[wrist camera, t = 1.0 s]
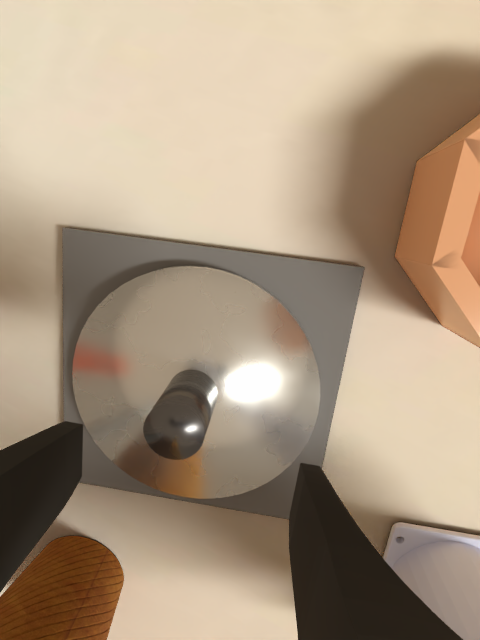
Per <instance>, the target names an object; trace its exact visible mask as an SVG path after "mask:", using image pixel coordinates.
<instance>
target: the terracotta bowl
mask: <svg viewBox="0 0 480 640" xmlns="http://www.w3.org/2000/svg"><path fill="white" fill-rule="evenodd" d="M395 258H396V259H397V261H398V262H399V264H400V265H401V267H402V268H403V270H404V271H405V272H406V274H407V275H408V277H409V278H410V280H411V281H412V283H413V284H414V286H415V287H416V288H417V290H418V291H419V293H420V294H421V296H422V297H423V299H424V300H425V302H426V303H427V305H428V306H429V307H430V309H431V310H432V312H433V313H434V315H435V316H436V318H437V319H438V321H439V322H440V323H441V325H442V326H443V327H445V328H447V329H449V330H450V331H452V332H454V333H455V334H457V335H459V336H460V337H462V338H464V339H466V340H467V341H469V342H471V343H472V344H474V345H476V346H478V347H479V348H480V114H479V115H478V116H476V117H475V118H474V119H472V120H471V121H470V122H468V123H467V124H466V125H464V126H463V127H462V128H460V129H459V130H458V131H457V132H455V133H454V134H453V135H451V136H450V137H449V138H447V139H446V140H445V141H443V142H442V143H441V144H439V145H438V146H437V147H435V148H434V149H433V150H431V151H430V152H429V153H427V154H426V155H425V156H423V157H422V158H421V159H419V160H418V161H417V163H416V167H415V172H414V176H413V180H412V184H411V189H410V193H409V197H408V202H407V206H406V210H405V214H404V219H403V223H402V227H401V232H400V236H399V240H398V244H397V249H396V253H395Z"/></svg>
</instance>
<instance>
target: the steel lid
mask: <svg viewBox="0 0 480 640" xmlns="http://www.w3.org/2000/svg"><path fill="white" fill-rule="evenodd" d="M72 378H73V390H74V395H75V400H76V404H77V407H78V410H79V413H80V416H81V418H82V420H83V422H84V425H85V427H86V429H87V431H88V432H89V434H90V435H91V437H92V438H93V440H94V441H95V443H96V444H97V446H98V447H99V448H100V449H101V450H102V452H103V453H104V454H105V455H106V456H107V457H108V458H109V459H110V460H111V461H112V462H113V463H114V464H115V465H116V466H118V467H119V468H120V469H122V470H123V471H124V472H125V473H127V474H128V475H130V476H131V477H133V478H135V479H136V480H138V481H139V482H141V483H143V484H146V485H148V486H150V487H152V488H154V489H157V490H160V491H163V492H166V493H168V494H173V495H177V496H182V497H189V498H197V499H214V498H223V497H229V496H234V495H238V494H242V493H245V492H248V491H251V490H253V489H256V488H258V487H260V486H262V485H264V484H266V483H268V482H269V481H271V480H272V479H274V478H275V477H277V476H278V475H280V474H281V473H282V472H283V471H284V470H285V469H286V468H288V467H289V466H290V465H291V464H292V463H293V461H294V460H295V459H296V458H297V457H298V456H299V454H300V453H301V452H302V450H303V448H304V447H305V445H306V444H307V442H308V440H309V438H310V436H311V434H312V431H313V429H314V427H315V423H316V420H317V416H318V412H319V404H320V378H319V372H318V366H317V363H316V360H315V356H314V353H313V350H312V347H311V344H310V342H309V340H308V338H307V336H306V334H305V332H304V330H303V328H302V327H301V325H300V324H299V322H298V321H297V319H296V318H295V316H294V315H293V314H292V313H291V312H290V311H289V309H288V308H287V307H286V306H285V305H284V304H283V303H282V302H281V301H280V300H279V299H278V298H276V297H275V296H274V295H273V294H272V293H271V292H269V291H268V290H266V289H265V288H263V287H262V286H260V285H259V284H257V283H255V282H253V281H251V280H249V279H247V278H245V277H243V276H241V275H238V274H236V273H233V272H230V271H227V270H223V269H218V268H213V267H209V266H195V265H186V266H173V267H168V268H163V269H158V270H155V271H152V272H150V273H147V274H144V275H141V276H138V277H136V278H134V279H132V280H130V281H128V282H127V283H125V284H123V285H121V286H120V287H118V288H117V289H116V290H114V291H113V292H112V293H110V294H109V295H108V296H107V297H106V298H105V299H104V300H103V301H102V302H101V303H100V304H99V305H98V306H97V307H96V309H95V310H94V311H93V313H92V314H91V315H90V317H89V318H88V320H87V322H86V323H85V325H84V327H83V329H82V331H81V333H80V336H79V339H78V342H77V344H76V349H75V353H74V358H73V370H72Z"/></svg>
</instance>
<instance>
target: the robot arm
mask: <svg viewBox="0 0 480 640" xmlns="http://www.w3.org/2000/svg"><path fill="white" fill-rule="evenodd" d="M82 453H83V424H79V423H73V422H68V421H65V422H62V423H59V424H57V425H55V426H52V427H50V428H48V429H46V430H44V431H41V432H39V433H37V434H35V435H33V436H31V437H29V438H26V439H24V440H22V441H20V442H18V443H16V444H13V445H11V446H9V447H7V448H5V449H3V450H0V592H1V591H2V589H3V588H4V587H5V585H6V584H7V582H8V581H9V579H10V578H11V577H12V575H13V574H14V573H15V571H16V570H17V569H18V567H19V566H20V565H21V563H22V562H23V561H24V559H25V558H26V557H27V555H28V554H29V553H30V552H31V550H32V549H33V548H34V546H35V545H36V544H37V542H38V541H39V540H40V538H41V537H42V536H43V535H44V533H45V532H46V531H47V529H48V528H49V527H50V525H51V524H52V523H53V521H54V520H55V519H56V517H57V516H58V515H59V513H60V512H61V511H62V509H63V508H64V506H65V505H66V503H67V502H68V500H69V498H70V497H71V495H72V493H73V492H74V490H75V488H76V486H77V485H78V483H79V481H80V479H81V478H82ZM397 537H400V538H397ZM289 552H290V562H291V572H292V582H293V591H294V601H295V611H296V620H297V630H298V640H480V536H478V535H472V534H466V533H461V532H455V531H449V530H443V529H437V528H432V527H426V526H420V525H414V524H409V523H403V522H398V523H395V524H394V525H393V526H392V528H391V532H390V535H389V539H388V542H387V546H386V549H385V553H384V556H383V558H382V557H381V555H380V554H379V553H378V552H377V551H376V549H375V548H374V547H373V546H372V544H371V543H370V542H369V540H368V539H367V538H366V536H365V535H364V534H363V532H362V531H361V530H360V528H359V527H358V525H357V524H356V523H355V521H354V520H353V518H352V517H351V515H350V514H349V512H348V511H347V509H346V508H345V506H344V505H343V503H342V502H341V500H340V498H339V497H338V495H337V494H336V492H335V490H334V489H333V487H332V485H331V484H330V482H329V480H328V479H327V477H326V475H325V474H324V472H323V470H322V469H321V467H320V466H317V465H311V464H306V463H300V467H299V472H298V476H297V481H296V486H295V491H294V495H293V500H292V505H291V510H290V514H289Z"/></svg>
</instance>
